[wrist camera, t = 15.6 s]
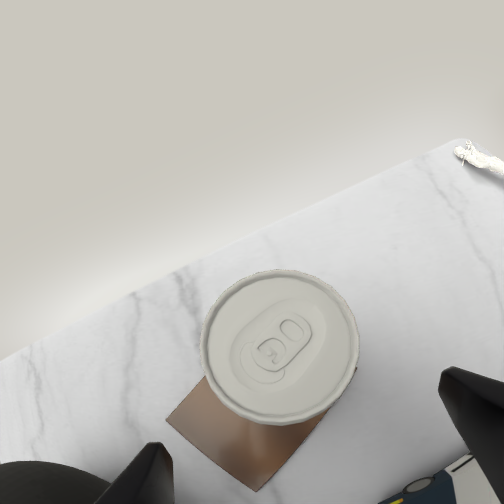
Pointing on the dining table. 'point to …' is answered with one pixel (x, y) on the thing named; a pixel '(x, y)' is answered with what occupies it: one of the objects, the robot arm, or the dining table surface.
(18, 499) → the decorative egg
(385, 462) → the dining table surface
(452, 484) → the toy car
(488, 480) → the robot arm
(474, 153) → the figurine
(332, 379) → the beverage can
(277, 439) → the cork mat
